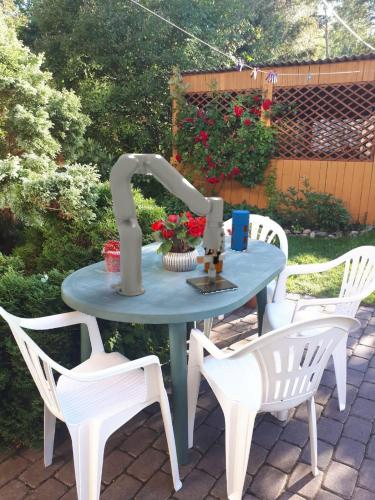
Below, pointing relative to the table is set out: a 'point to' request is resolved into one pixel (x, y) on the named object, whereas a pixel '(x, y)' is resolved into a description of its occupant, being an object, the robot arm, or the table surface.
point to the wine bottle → (217, 266)
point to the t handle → (209, 259)
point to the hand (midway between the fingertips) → (212, 262)
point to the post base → (209, 286)
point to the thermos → (240, 230)
